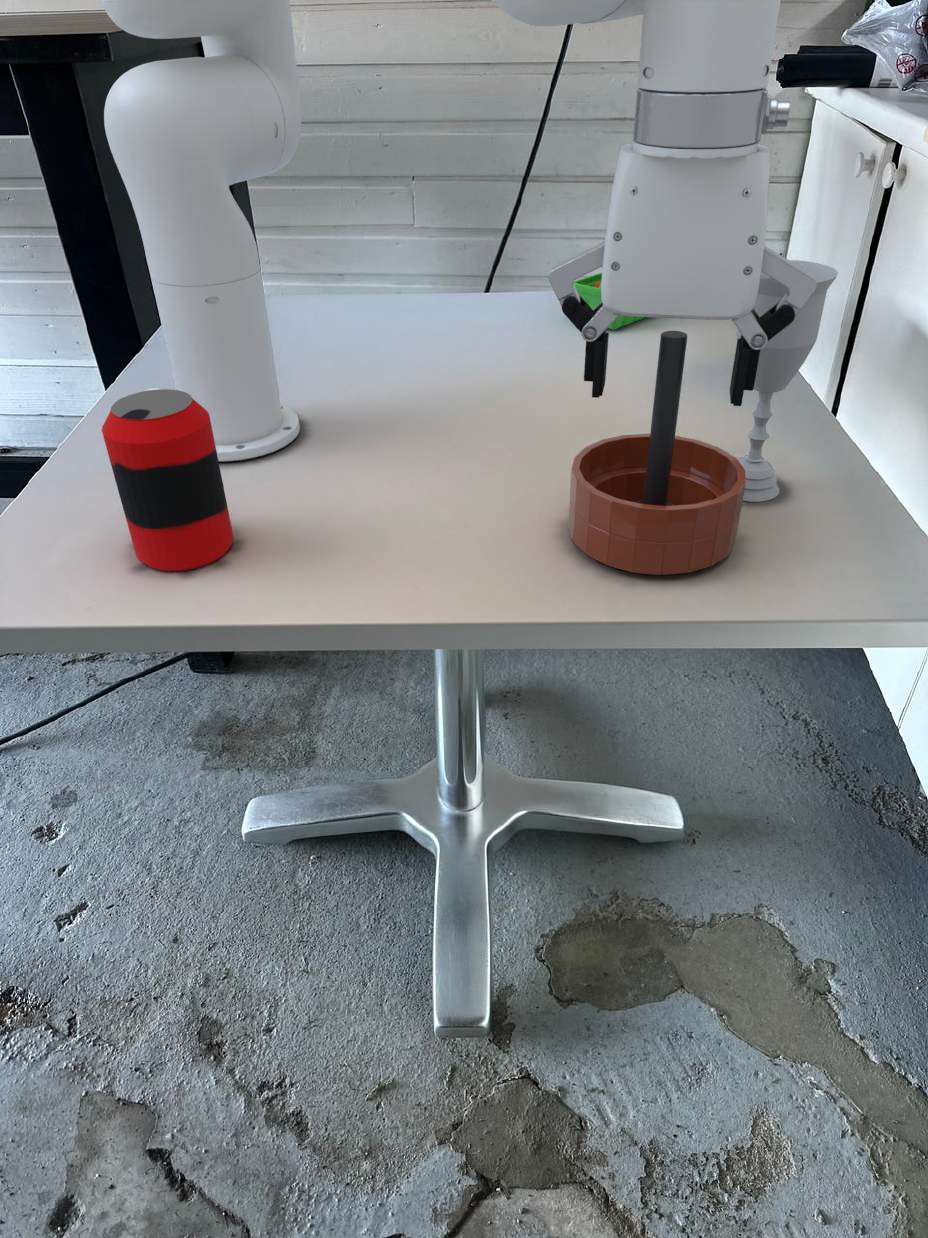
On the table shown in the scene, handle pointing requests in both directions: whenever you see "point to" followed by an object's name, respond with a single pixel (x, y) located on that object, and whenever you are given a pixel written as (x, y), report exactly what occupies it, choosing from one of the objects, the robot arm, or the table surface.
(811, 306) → the chalice
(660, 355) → the upright rod on disc
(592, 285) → the fruit basket
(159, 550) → the soda can
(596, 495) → the bowl
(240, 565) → the table surface
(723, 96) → the robot arm
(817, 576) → the table surface
